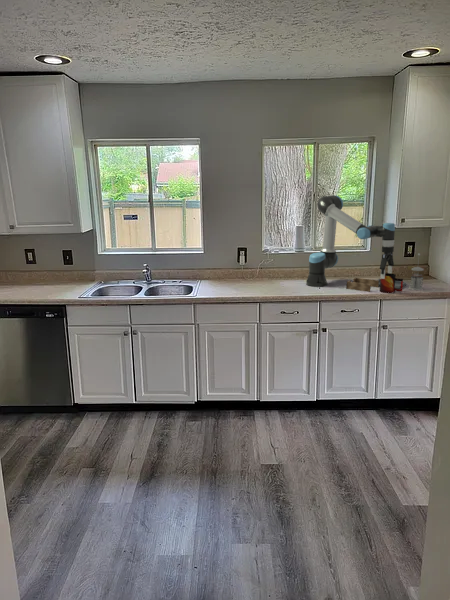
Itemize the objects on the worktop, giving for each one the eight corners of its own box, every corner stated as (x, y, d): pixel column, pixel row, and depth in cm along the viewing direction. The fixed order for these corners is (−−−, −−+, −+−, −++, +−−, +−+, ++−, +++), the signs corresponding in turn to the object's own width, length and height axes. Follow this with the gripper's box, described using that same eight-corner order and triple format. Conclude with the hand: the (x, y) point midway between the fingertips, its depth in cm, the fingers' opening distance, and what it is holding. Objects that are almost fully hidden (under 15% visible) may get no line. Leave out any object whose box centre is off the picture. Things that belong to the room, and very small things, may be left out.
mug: (402, 293, 292) (403, 276, 288) (381, 293, 293) (382, 276, 290) (398, 289, 301) (399, 273, 298) (378, 289, 302) (379, 273, 299)
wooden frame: (346, 288, 308) (346, 281, 307) (355, 284, 320) (355, 277, 319) (369, 291, 298) (370, 284, 296) (378, 287, 310) (378, 280, 308)
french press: (424, 287, 305) (427, 252, 298) (422, 291, 296) (425, 255, 289) (409, 286, 310) (412, 251, 303) (407, 289, 300) (410, 254, 294)
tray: (371, 285, 315) (371, 282, 314) (379, 281, 327) (379, 278, 326) (398, 289, 302) (399, 286, 302) (406, 284, 314) (406, 281, 314)
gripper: (387, 248, 279) (385, 280, 285) (399, 244, 298) (397, 274, 303) (375, 248, 284) (374, 279, 289) (388, 243, 302) (387, 273, 308)
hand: (386, 276), depth 296 cm, fingers open, 13 cm apart
